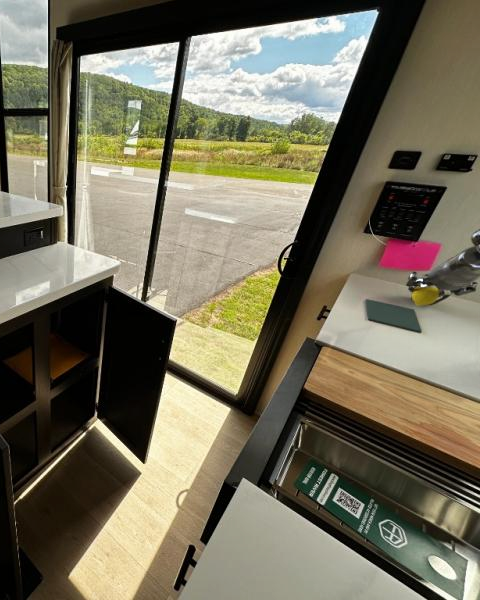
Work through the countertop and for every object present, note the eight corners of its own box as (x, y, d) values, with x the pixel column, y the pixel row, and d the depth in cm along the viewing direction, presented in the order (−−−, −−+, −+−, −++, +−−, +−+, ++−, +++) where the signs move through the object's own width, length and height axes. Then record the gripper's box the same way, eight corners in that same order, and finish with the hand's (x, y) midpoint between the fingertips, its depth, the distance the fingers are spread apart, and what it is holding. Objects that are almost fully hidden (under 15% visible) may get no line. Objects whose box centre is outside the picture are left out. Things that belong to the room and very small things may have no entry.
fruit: (430, 312, 96) (445, 289, 92) (405, 305, 100) (419, 283, 95) (431, 305, 99) (445, 282, 95) (407, 299, 103) (420, 277, 99)
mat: (413, 310, 117) (414, 309, 117) (421, 332, 106) (422, 331, 106) (365, 300, 124) (366, 298, 124) (368, 320, 113) (368, 318, 113)
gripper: (417, 278, 87) (391, 296, 102) (494, 292, 80) (454, 309, 95) (424, 254, 88) (397, 275, 103) (500, 265, 81) (459, 286, 96)
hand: (424, 291), depth 99 cm, fingers closed on fruit, 5 cm apart
